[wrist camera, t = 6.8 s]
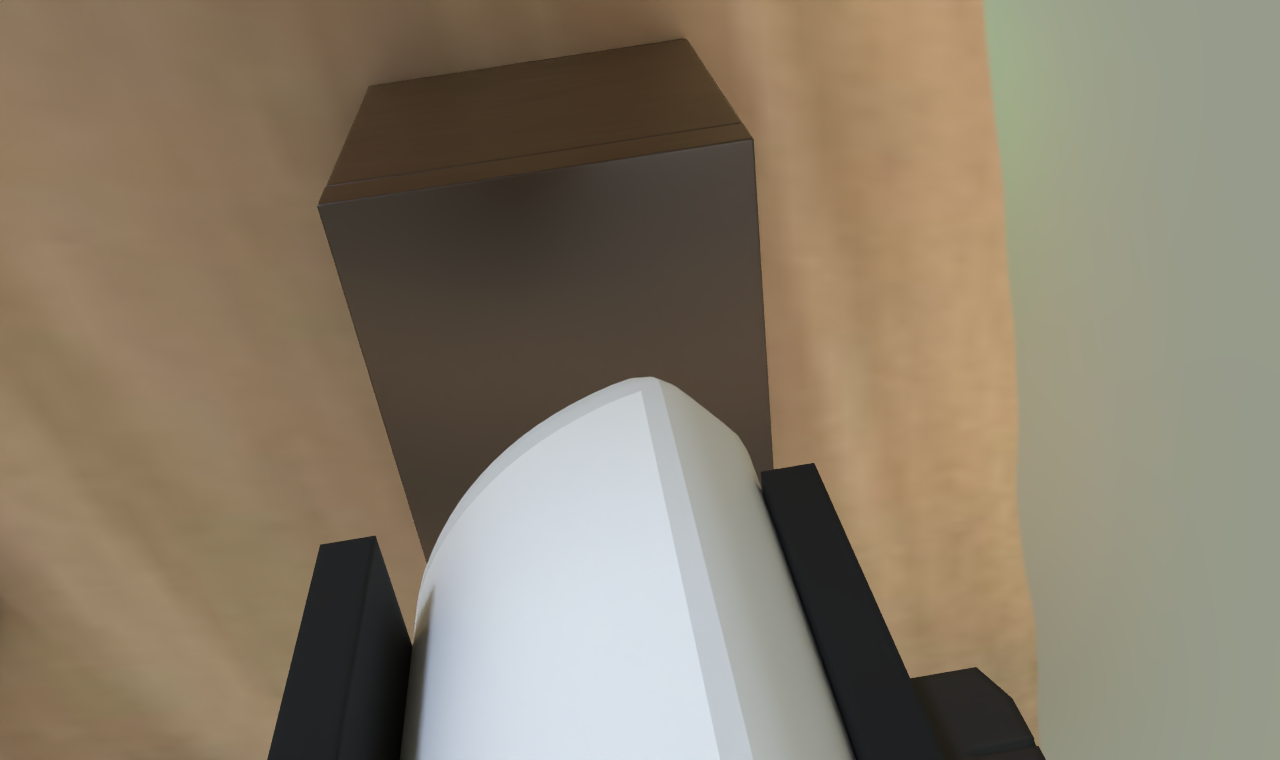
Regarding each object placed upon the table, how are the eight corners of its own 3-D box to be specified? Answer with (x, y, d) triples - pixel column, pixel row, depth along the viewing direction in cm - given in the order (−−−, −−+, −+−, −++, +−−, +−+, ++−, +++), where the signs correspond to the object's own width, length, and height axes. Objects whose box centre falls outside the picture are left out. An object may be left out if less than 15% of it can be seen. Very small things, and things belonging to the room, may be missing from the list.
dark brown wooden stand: (367, 85, 31) (316, 205, 23) (687, 37, 32) (754, 137, 23) (483, 530, 41) (478, 732, 32) (728, 490, 41) (786, 679, 32)
